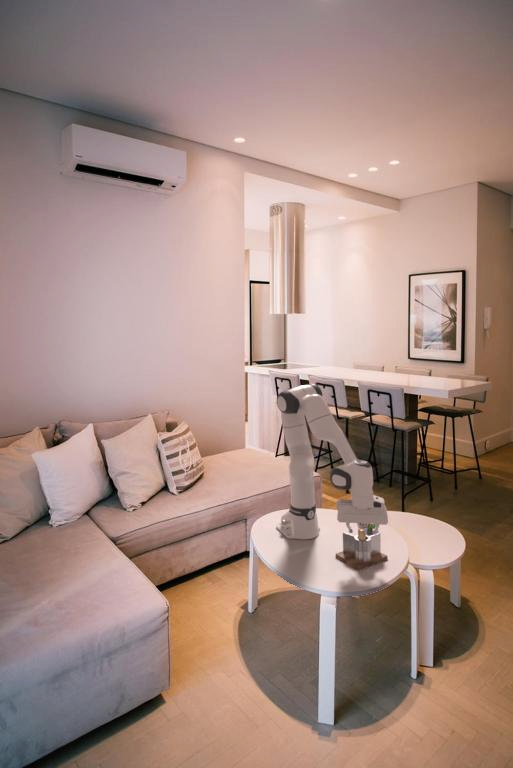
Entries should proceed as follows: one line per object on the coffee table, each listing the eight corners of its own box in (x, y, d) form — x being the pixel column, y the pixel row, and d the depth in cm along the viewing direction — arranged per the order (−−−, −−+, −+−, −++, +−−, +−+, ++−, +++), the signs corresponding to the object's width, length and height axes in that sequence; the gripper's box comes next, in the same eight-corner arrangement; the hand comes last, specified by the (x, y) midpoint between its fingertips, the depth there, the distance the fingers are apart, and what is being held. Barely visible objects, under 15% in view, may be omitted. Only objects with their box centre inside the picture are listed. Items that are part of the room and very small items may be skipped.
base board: (335, 557, 197) (335, 553, 197) (363, 547, 205) (363, 543, 205) (359, 570, 185) (359, 566, 185) (387, 559, 193) (387, 555, 193)
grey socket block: (340, 552, 198) (340, 531, 197) (363, 544, 205) (362, 524, 204) (362, 564, 187) (362, 542, 186) (385, 555, 194) (385, 534, 193)
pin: (357, 558, 192) (356, 530, 191) (363, 556, 193) (361, 528, 193) (362, 561, 189) (361, 532, 188) (368, 558, 191) (367, 530, 190)
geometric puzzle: (383, 536, 210) (378, 519, 214) (369, 538, 208) (364, 521, 212) (377, 540, 216) (371, 523, 220) (363, 542, 214) (358, 525, 218)
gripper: (335, 501, 188) (336, 534, 190) (388, 504, 184) (388, 537, 185) (336, 496, 194) (337, 528, 196) (387, 498, 190) (387, 531, 191)
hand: (362, 533), depth 190 cm, fingers open, 8 cm apart
